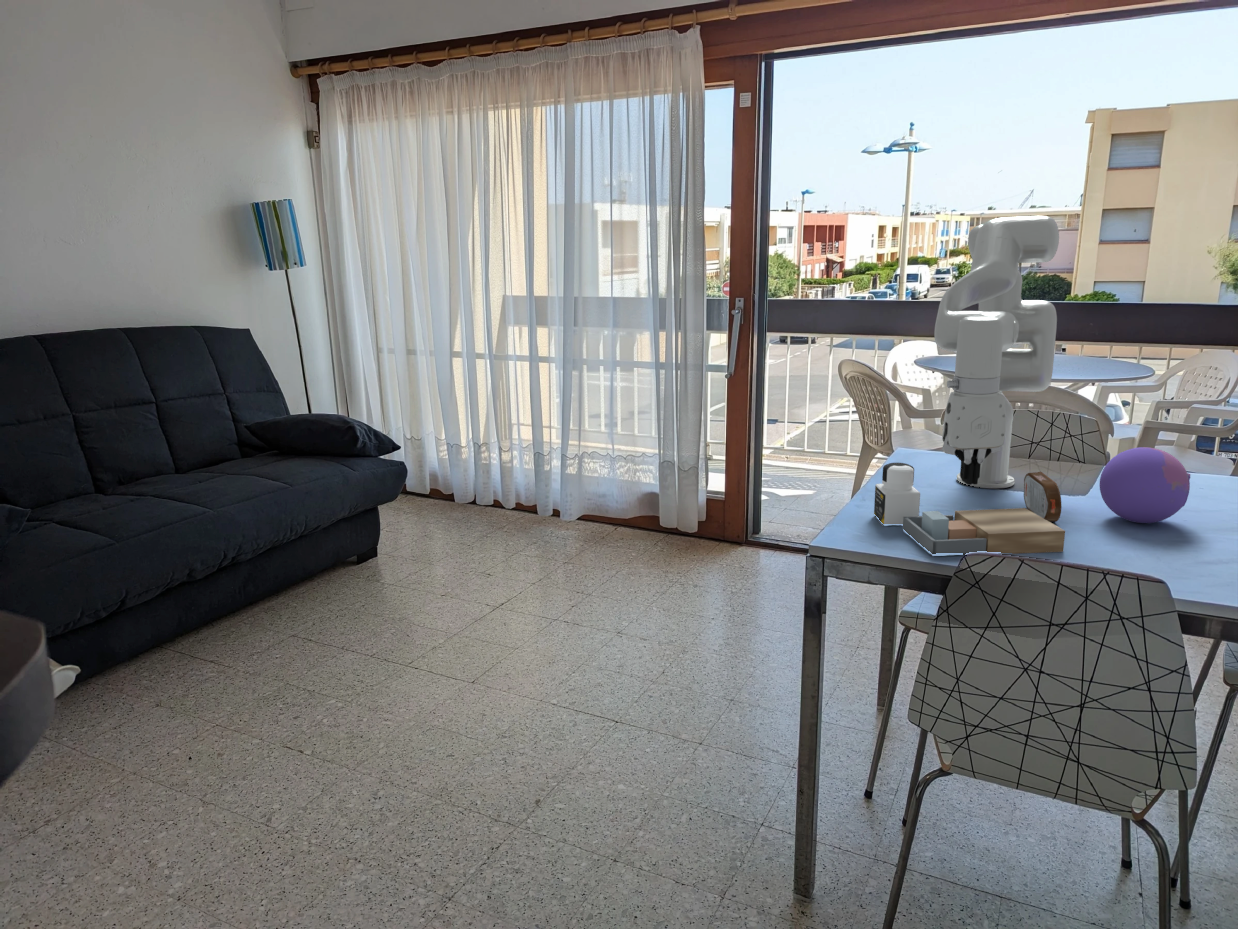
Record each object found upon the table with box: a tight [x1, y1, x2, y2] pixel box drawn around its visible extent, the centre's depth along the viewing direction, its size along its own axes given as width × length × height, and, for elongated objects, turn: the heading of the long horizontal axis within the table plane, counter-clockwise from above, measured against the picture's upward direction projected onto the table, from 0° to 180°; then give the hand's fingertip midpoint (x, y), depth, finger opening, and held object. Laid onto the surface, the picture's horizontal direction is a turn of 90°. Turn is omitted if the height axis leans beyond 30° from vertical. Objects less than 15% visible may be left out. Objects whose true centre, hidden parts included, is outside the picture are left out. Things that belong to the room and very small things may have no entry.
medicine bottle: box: [873, 462, 921, 524], centre depth 166 cm, size 7×7×12 cm
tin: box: [1023, 471, 1062, 523], centre depth 167 cm, size 15×3×8 cm, turn 172°
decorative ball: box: [1099, 446, 1191, 524], centre depth 161 cm, size 15×15×15 cm
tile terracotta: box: [948, 520, 977, 540], centre depth 154 cm, size 5×5×3 cm
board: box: [953, 507, 1066, 555], centre depth 154 cm, size 14×14×4 cm
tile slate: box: [921, 510, 949, 540], centre depth 153 cm, size 5×5×3 cm
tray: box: [902, 514, 987, 555], centre depth 154 cm, size 14×10×3 cm
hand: (969, 482), depth 152 cm, fingers closed
